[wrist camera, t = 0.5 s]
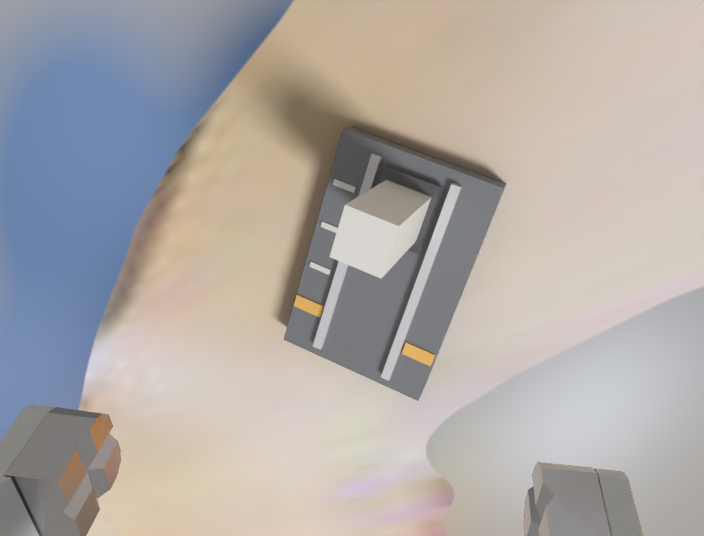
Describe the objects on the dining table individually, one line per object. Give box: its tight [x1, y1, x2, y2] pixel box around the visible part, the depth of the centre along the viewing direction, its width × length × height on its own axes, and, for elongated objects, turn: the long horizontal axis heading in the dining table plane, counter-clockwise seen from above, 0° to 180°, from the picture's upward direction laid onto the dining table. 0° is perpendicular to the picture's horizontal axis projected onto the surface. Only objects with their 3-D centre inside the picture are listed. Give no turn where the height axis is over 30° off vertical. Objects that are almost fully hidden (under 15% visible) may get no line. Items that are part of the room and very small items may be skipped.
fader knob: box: [329, 165, 443, 279], centre depth 48 cm, size 6×5×10 cm
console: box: [284, 127, 506, 401], centre depth 56 cm, size 21×14×3 cm, turn 162°
